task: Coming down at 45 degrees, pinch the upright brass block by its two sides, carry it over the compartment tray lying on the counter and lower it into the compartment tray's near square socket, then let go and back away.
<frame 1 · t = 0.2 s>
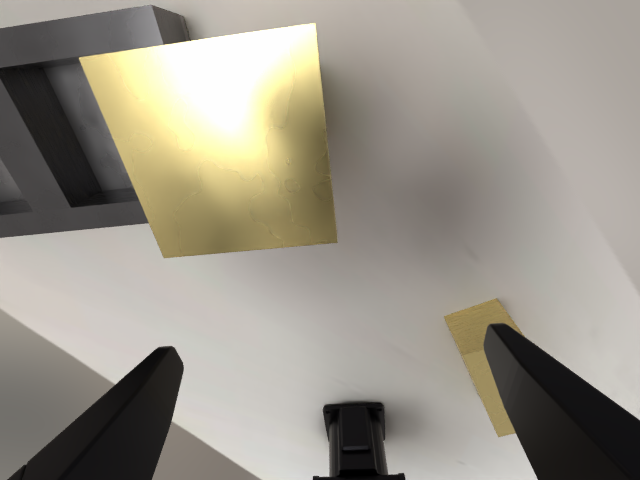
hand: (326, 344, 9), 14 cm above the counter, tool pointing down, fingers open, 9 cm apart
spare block: (485, 349, 29), on the counter
compartment tray: (63, 135, 20), on the counter
brass block: (284, 108, 19), on the counter
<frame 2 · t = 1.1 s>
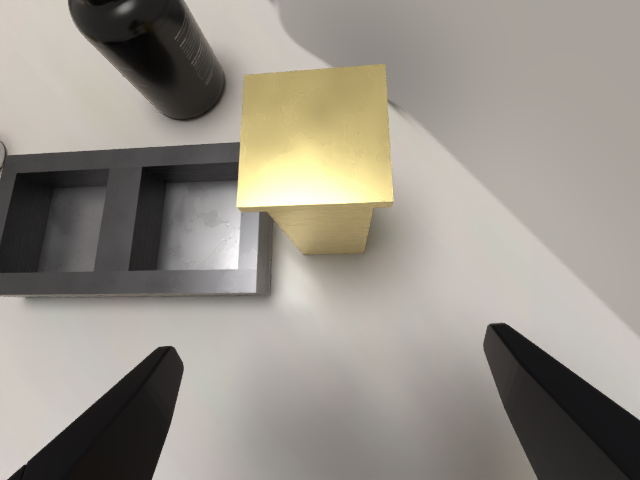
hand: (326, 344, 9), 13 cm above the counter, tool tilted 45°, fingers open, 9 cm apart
supplement bottle: (190, 90, 28), on the counter
compartment tray: (150, 230, 25), on the counter
brass block: (333, 224, 24), on the counter
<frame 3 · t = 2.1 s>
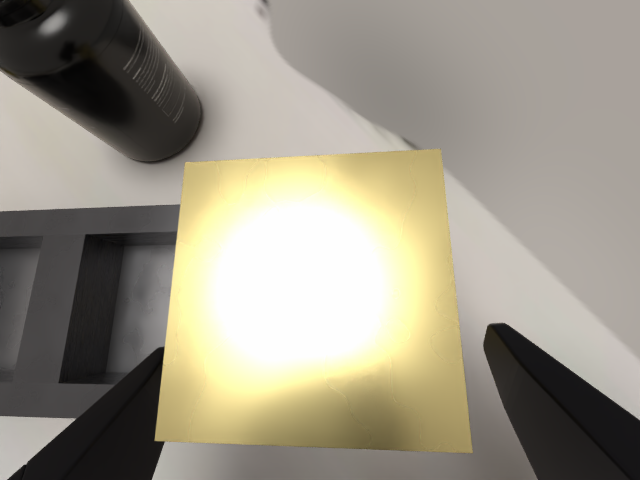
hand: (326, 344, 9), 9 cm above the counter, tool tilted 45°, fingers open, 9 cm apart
supplement bottle: (159, 123, 23), on the counter
compartment tray: (102, 306, 19), on the counter
brass block: (337, 305, 18), on the counter
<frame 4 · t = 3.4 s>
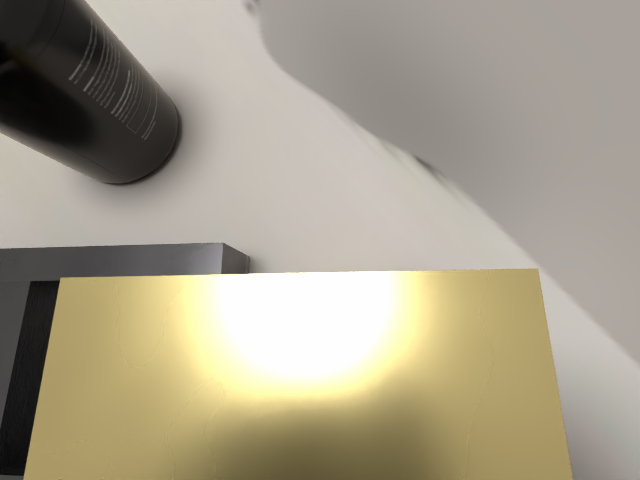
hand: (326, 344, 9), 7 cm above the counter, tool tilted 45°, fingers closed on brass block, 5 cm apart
supplement bottle: (131, 138, 19), on the counter
compartment tray: (60, 358, 16), on the counter
brass block: (338, 361, 15), on the counter, touching gripper
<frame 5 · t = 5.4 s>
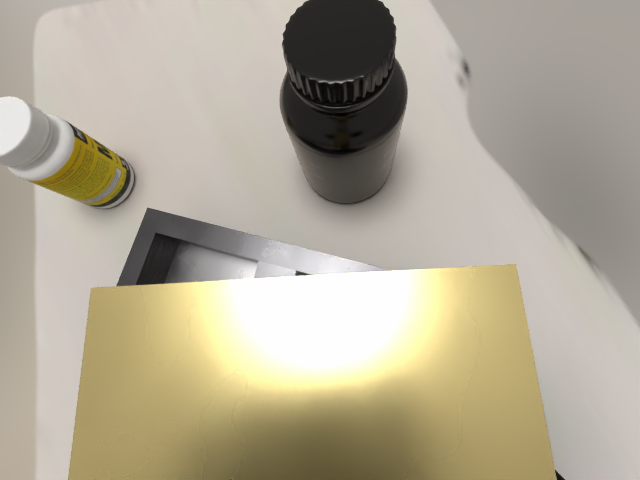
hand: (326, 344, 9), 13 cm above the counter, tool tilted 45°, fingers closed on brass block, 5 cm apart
supplement bottle 2: (111, 184, 26), on the counter
supplement bottle: (346, 165, 25), on the counter
compartment tray: (273, 322, 22), on the counter
brass block: (338, 357, 15), point 6 cm above the counter, touching gripper
when the fingers open (8 cm above the counter, at t = 6.8 s): brass block stays where it is, resting on compartment tray.
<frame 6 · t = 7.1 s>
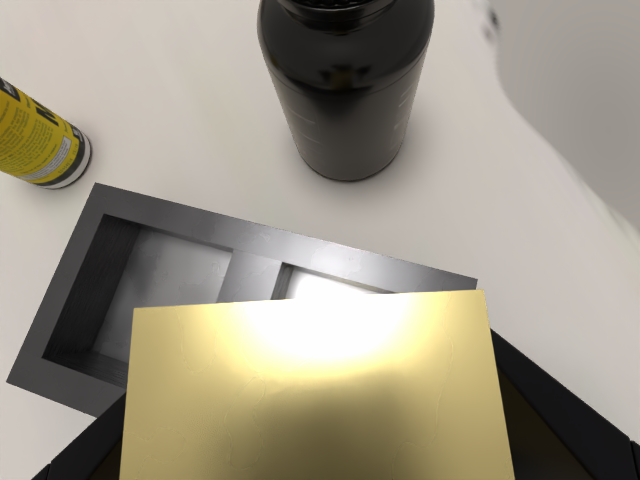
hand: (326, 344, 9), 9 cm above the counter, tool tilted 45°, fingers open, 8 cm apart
supplement bottle 2: (63, 159, 22), on the counter
supplement bottle: (347, 136, 20), on the counter
compartment tray: (255, 328, 18), on the counter
brass block: (340, 359, 16), point 1 cm above the counter, touching compartment tray
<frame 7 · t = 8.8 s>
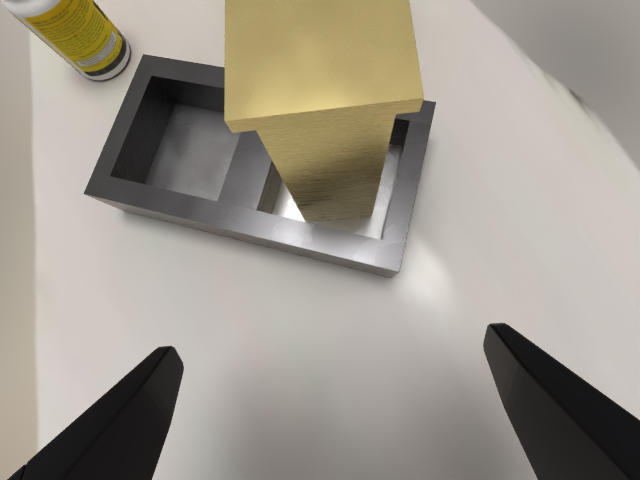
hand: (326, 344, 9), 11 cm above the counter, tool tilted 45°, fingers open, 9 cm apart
supplement bottle 2: (107, 59, 26), on the counter
compartment tray: (269, 173, 22), on the counter
brass block: (335, 187, 21), resting on compartment tray
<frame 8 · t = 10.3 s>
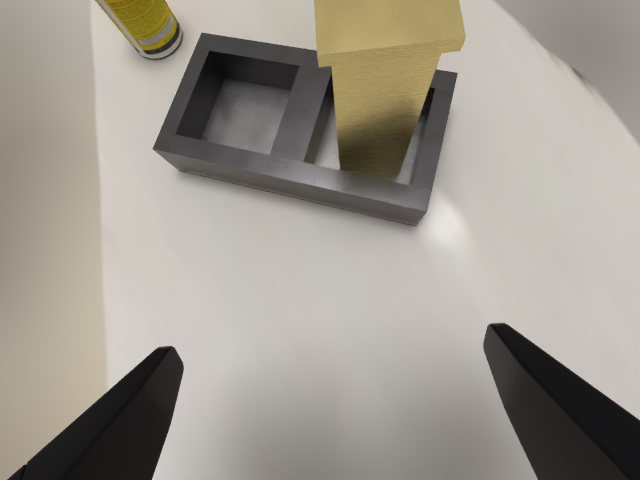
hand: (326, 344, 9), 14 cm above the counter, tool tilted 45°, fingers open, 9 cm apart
supplement bottle 2: (160, 41, 30), on the counter
compartment tray: (308, 138, 26), on the counter
brass block: (367, 149, 24), resting on compartment tray
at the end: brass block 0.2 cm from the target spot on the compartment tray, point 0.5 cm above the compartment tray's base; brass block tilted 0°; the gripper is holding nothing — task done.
